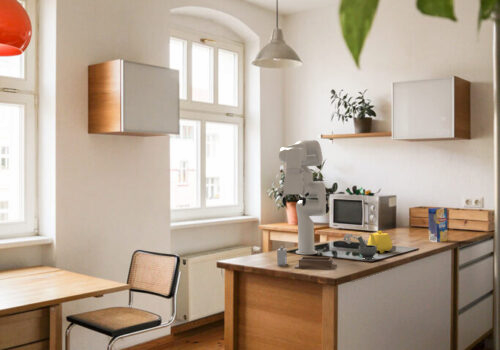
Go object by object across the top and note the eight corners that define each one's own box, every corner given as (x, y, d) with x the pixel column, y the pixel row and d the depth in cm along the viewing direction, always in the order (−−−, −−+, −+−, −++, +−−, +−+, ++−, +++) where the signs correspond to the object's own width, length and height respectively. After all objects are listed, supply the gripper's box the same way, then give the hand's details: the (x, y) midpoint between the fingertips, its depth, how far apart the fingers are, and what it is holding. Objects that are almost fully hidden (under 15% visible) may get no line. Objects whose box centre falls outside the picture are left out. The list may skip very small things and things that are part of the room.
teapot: (360, 253, 304) (360, 231, 304) (377, 248, 318) (377, 228, 318) (381, 255, 295) (380, 233, 295) (397, 250, 309) (397, 230, 309)
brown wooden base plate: (297, 264, 271) (297, 256, 271) (336, 264, 267) (336, 257, 267) (294, 268, 260) (294, 260, 260) (334, 269, 255) (334, 260, 255)
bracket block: (279, 263, 275) (279, 246, 275) (286, 263, 274) (286, 246, 274) (277, 265, 269) (277, 247, 269) (285, 265, 268) (284, 247, 268)
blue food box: (447, 240, 348) (447, 208, 348) (437, 242, 342) (436, 208, 342) (438, 239, 354) (438, 207, 354) (428, 241, 348) (428, 208, 348)
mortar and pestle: (380, 258, 283) (380, 236, 283) (370, 261, 276) (370, 238, 276) (363, 256, 291) (362, 235, 291) (353, 258, 285) (352, 236, 285)
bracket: (345, 239, 347) (350, 226, 344) (371, 256, 335) (377, 243, 332) (342, 240, 345) (348, 227, 342) (369, 257, 333) (375, 243, 330)
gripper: (311, 171, 264) (312, 205, 264) (278, 172, 268) (278, 205, 268) (309, 171, 257) (310, 206, 257) (275, 172, 261) (276, 206, 261)
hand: (294, 205), depth 263 cm, fingers open, 9 cm apart
